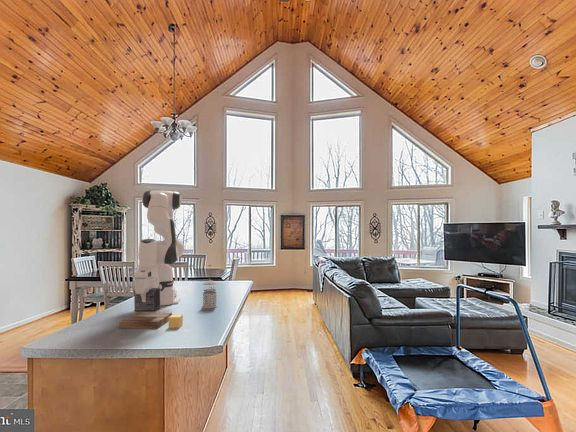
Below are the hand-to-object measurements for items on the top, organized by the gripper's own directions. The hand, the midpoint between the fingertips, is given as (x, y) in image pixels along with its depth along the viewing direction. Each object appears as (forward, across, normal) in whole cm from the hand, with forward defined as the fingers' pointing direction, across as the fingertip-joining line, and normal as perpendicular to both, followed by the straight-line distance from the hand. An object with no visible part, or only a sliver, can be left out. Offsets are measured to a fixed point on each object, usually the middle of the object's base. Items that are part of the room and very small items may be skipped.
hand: (147, 300), depth 172 cm
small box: (+5, 0, 0) cm, 5 cm away
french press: (+11, -37, +22) cm, 44 cm away
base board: (+11, 0, 0) cm, 11 cm away
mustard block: (+11, +6, +16) cm, 20 cm away
